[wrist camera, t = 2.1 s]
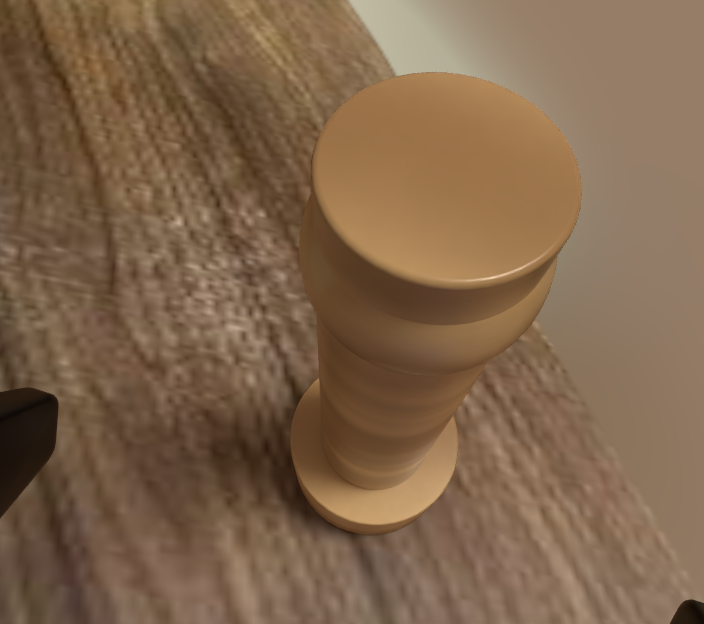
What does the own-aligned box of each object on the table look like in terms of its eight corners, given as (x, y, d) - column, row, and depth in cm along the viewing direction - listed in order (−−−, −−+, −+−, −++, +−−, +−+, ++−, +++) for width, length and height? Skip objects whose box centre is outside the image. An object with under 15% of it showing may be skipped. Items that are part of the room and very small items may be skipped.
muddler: (445, 539, 18) (713, 388, 5) (287, 530, 18) (190, 357, 5) (442, 389, 20) (631, 31, 8) (301, 380, 20) (256, 6, 8)
